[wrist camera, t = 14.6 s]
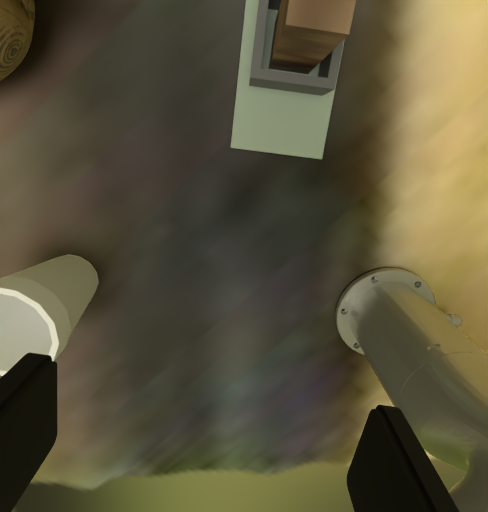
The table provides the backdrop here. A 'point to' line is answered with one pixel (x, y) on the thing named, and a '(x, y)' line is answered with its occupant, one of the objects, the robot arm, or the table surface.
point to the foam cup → (43, 307)
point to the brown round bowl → (15, 33)
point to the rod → (308, 32)
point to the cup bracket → (280, 93)
